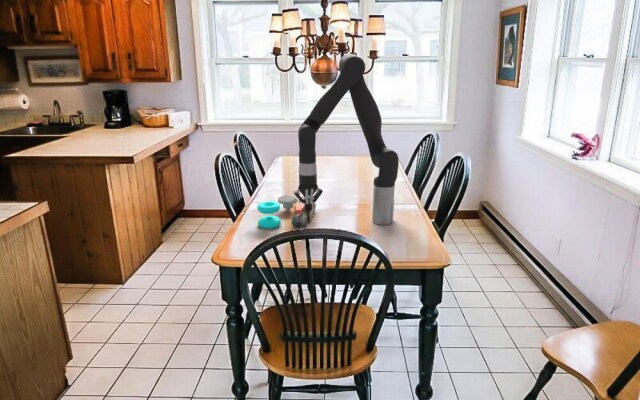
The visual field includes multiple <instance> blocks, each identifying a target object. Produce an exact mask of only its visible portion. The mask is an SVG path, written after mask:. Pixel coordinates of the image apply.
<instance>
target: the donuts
mask: <svg viewBox="0 0 640 400" xmlns="http://www.w3.org/2000/svg"><path fill="white" fill-rule="evenodd" d="M256 209H257V211H258V212H259V213H260V214H263V215H264V216H262V217H260V218H259V219H258V221H257V225H258V227H260V228H262V229H265V230H267V229H269V230H271V229H276V228H278V227H280V226H281V223H282V221H281V218H279V217H278V216H275V215H273V214H275V213H278V212H279V211H280V209H281V203H279V202H278V201H271V200H270V201H267V200H266V201H262V202H260V203H258V205H257V207H256Z"/></svg>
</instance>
